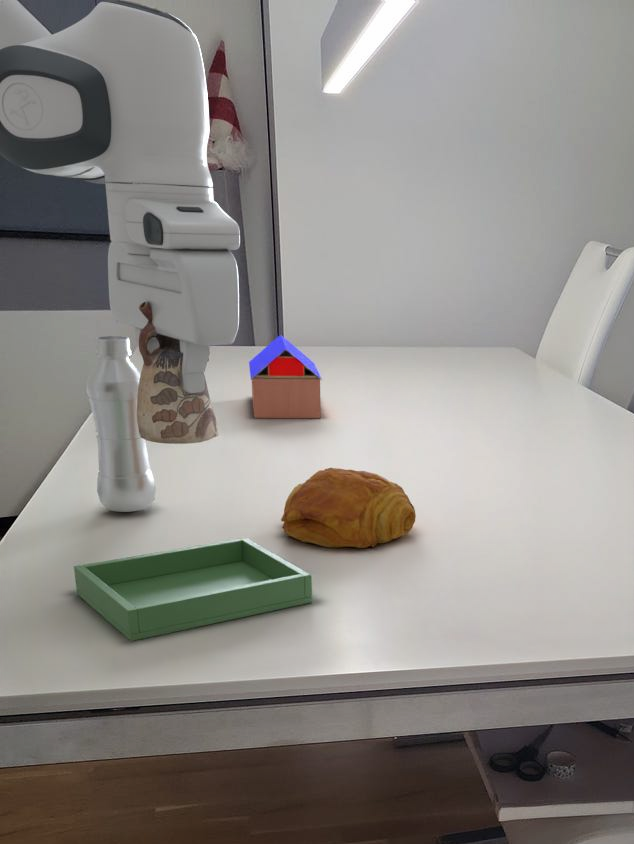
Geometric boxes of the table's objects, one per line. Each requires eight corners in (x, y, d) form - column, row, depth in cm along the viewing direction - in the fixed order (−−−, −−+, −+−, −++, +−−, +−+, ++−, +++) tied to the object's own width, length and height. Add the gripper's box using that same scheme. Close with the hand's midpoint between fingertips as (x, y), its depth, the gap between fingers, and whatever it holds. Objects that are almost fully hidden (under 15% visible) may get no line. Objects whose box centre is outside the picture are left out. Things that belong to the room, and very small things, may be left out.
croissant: (331, 524, 129) (324, 460, 127) (436, 530, 121) (430, 461, 119) (252, 550, 117) (243, 479, 115) (362, 557, 109) (354, 482, 107)
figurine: (228, 440, 95) (220, 304, 90) (150, 446, 92) (138, 305, 87) (204, 426, 101) (196, 297, 96) (129, 431, 97) (117, 297, 93)
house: (252, 418, 178) (249, 348, 173) (250, 397, 196) (247, 334, 191) (322, 418, 180) (321, 349, 176) (314, 398, 198) (313, 335, 194)
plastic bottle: (169, 509, 125) (156, 338, 117) (123, 521, 119) (107, 343, 112) (132, 500, 128) (117, 332, 120) (87, 511, 123) (68, 337, 115)
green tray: (130, 641, 88) (127, 610, 87) (76, 594, 98) (73, 565, 97) (312, 602, 98) (311, 574, 97) (247, 563, 108) (245, 537, 107)
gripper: (83, 216, 95) (99, 371, 100) (175, 226, 80) (188, 406, 85) (150, 218, 98) (161, 367, 104) (249, 227, 84) (257, 400, 89)
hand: (174, 385), depth 94 cm, fingers closed on figurine, 6 cm apart
